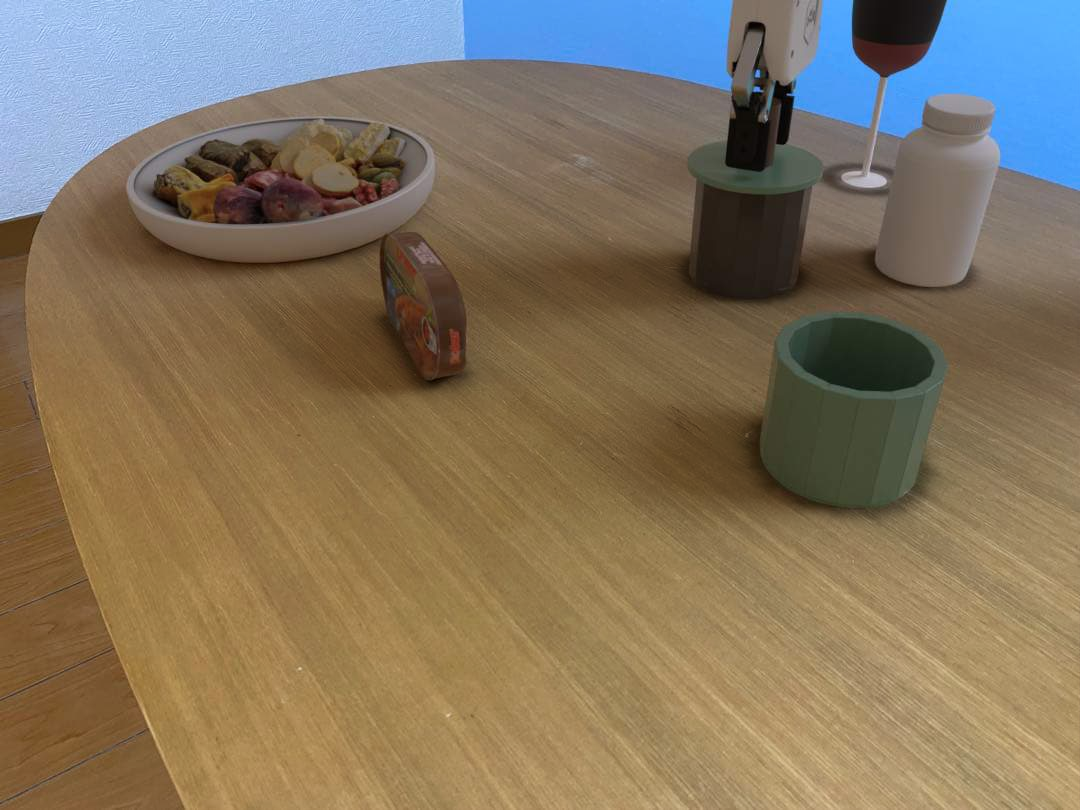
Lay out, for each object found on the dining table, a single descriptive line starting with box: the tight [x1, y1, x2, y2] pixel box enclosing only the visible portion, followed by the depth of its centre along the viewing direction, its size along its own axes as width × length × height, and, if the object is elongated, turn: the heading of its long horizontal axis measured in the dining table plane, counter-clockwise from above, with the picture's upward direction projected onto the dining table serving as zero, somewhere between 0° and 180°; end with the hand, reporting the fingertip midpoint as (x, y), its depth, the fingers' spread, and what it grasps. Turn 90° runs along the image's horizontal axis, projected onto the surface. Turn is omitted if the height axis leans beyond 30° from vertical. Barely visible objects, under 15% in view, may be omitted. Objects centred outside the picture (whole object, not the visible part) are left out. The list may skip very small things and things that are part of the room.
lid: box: [686, 96, 824, 194], centre depth 76 cm, size 11×11×6 cm
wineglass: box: [840, 0, 948, 189], centre depth 95 cm, size 8×9×20 cm
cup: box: [688, 179, 813, 300], centre depth 81 cm, size 9×9×10 cm
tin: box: [379, 231, 468, 381], centre depth 72 cm, size 15×3×8 cm, turn 23°
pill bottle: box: [874, 93, 1001, 288], centre depth 80 cm, size 8×8×15 cm
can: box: [759, 311, 949, 509], centre depth 60 cm, size 10×10×8 cm
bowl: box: [125, 115, 436, 264], centre depth 95 cm, size 30×30×8 cm
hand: (757, 152), depth 77 cm, fingers open, 6 cm apart
